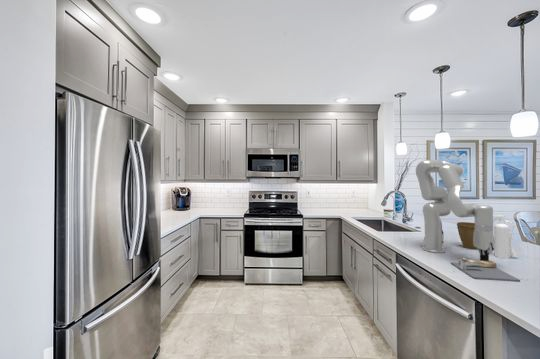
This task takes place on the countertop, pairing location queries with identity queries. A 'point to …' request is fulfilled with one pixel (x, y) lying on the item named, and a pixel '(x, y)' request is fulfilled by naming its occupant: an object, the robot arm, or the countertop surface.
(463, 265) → the steel keeper
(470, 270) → the charcoal mat
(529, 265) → the countertop surface
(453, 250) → the countertop surface
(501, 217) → the white bottle
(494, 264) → the oak link
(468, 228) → the plant pot
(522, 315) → the countertop surface
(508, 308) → the countertop surface
